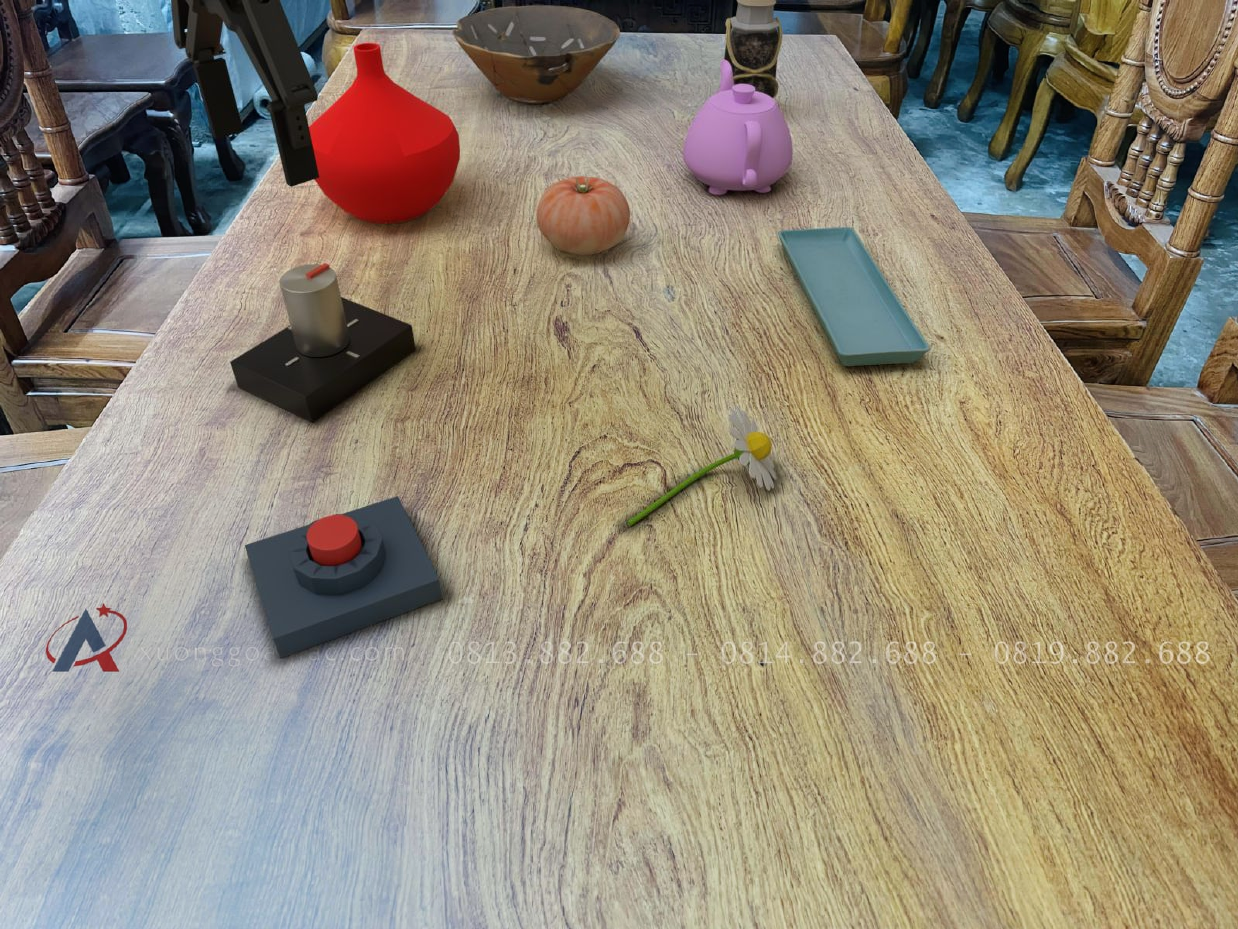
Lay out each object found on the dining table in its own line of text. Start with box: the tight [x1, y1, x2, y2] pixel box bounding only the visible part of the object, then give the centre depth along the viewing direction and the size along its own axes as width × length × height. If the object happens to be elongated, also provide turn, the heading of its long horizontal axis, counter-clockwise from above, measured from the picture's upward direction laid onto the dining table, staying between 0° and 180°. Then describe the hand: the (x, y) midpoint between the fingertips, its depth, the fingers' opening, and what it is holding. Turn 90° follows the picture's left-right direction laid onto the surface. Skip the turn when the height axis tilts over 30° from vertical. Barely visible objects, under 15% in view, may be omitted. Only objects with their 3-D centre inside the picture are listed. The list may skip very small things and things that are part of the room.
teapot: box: [682, 59, 794, 196], centre depth 122 cm, size 20×14×12 cm
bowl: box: [452, 4, 621, 105], centre depth 144 cm, size 25×25×10 cm
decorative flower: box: [626, 405, 777, 527], centre depth 78 cm, size 8×6×15 cm
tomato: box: [536, 175, 631, 256], centre depth 109 cm, size 11×11×8 cm
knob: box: [279, 262, 350, 357], centre depth 88 cm, size 5×5×7 cm
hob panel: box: [229, 296, 417, 424], centre depth 91 cm, size 14×10×3 cm
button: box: [307, 514, 362, 566], centre depth 69 cm, size 4×4×2 cm
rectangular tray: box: [777, 226, 931, 367], centre depth 101 cm, size 26×9×2 cm, turn 6°
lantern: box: [723, 0, 783, 99], centre depth 133 cm, size 9×8×25 cm
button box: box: [244, 495, 444, 659], centre depth 70 cm, size 12×10×4 cm
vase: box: [309, 42, 461, 224], centre depth 112 cm, size 18×18×19 cm
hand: (264, 156), depth 84 cm, fingers open, 13 cm apart
